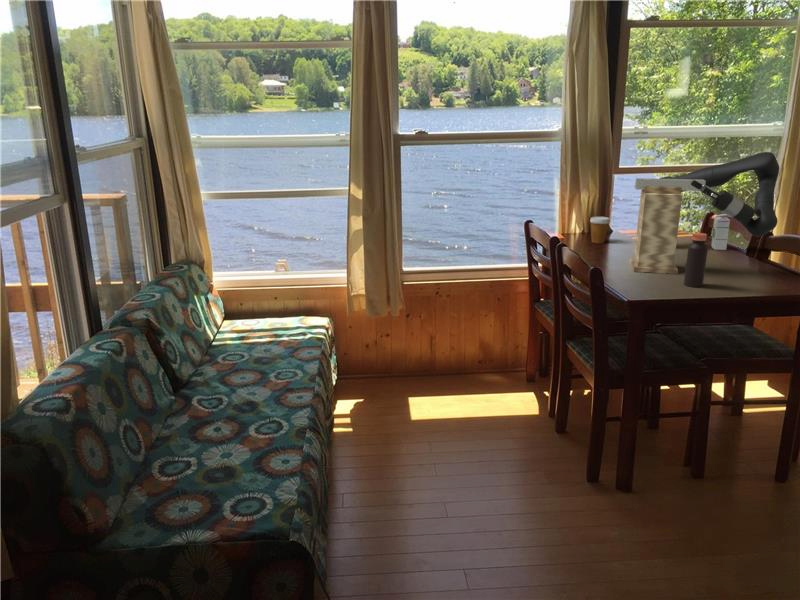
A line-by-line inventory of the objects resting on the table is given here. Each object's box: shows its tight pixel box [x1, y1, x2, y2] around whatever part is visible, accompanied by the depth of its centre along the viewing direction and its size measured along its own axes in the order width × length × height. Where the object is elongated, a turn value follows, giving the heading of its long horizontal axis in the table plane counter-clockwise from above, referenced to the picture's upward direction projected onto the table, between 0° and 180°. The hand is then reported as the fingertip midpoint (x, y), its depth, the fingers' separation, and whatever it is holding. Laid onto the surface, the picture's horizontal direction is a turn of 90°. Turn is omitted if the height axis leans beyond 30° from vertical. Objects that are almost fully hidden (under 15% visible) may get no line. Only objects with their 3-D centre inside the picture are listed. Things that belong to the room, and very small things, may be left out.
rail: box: [634, 177, 706, 192], centre depth 267 cm, size 26×4×4 cm, turn 78°
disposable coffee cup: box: [589, 216, 611, 244], centre depth 326 cm, size 10×10×12 cm
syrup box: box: [710, 216, 731, 251], centre depth 310 cm, size 6×6×14 cm
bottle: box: [683, 232, 708, 288], centre depth 251 cm, size 7×7×20 cm
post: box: [628, 187, 683, 275], centre depth 273 cm, size 17×15×34 cm
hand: (691, 181), depth 265 cm, fingers closed on rail, 4 cm apart
